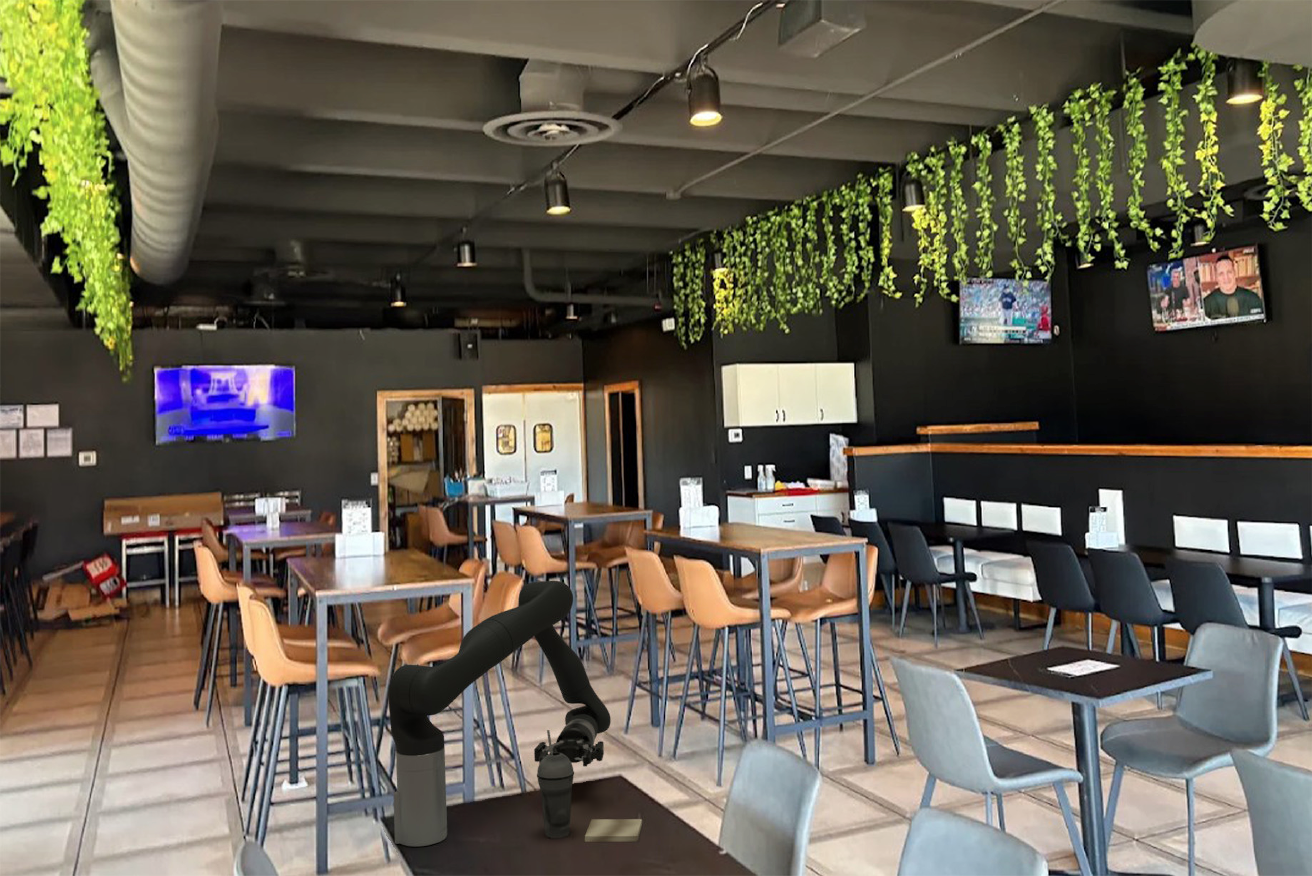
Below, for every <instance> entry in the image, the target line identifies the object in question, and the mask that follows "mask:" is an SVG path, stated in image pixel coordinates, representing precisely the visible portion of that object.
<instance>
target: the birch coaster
mask: <svg viewBox="0 0 1312 876" xmlns="http://www.w3.org/2000/svg"><path fill="white" fill-rule="evenodd" d="M642 826H643V819H642V818H634V819H633V818H632V819H631V818H628V819H626V818H619V819H617V818H616V819H615V818H614V819H610V818H608V819H607V818H605V819H603V818H602V819H601V818H600V819H597V818H596V819H594V818H591V820H590V823H589V825H588V827H587V830H586V833H585V835H584V842H585V843H587V842H590V843H591V842H592V843H593V842H596V843H597V842H598V843H599V842H602V843H603V842H604V843H605V842H608V843H609V842H610V843H611V842H613V843H614V842H615V843H616V842H617V843H618V842H620V843H621V842H638V841H639V838H640V833H641V831H642Z"/></svg>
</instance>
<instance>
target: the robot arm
mask: <svg viewBox="0 0 1312 876" xmlns="http://www.w3.org/2000/svg"><path fill="white" fill-rule="evenodd" d="M573 604H574V594H573V591H572V589H571V587H569V586H568V584H566V583H565V582H562V581H559V580H542V581H534V582H530V583H527V584H525V585H523V586H522V588H521V590H520V592H519V595H518V606H516V607H513V608H510V609H507V610H503V611H500V612H498V613H496V614H494V615H492V616H490V617H487V618H486V619H484V620H483V621H481V622H479V623H478V624H477V625H475V626H474V627H472V628H471V629H469V631H467V633H466V634H465V635H464V636H463V638H462V640H461V643H460V646H459V650H458V652H457V653H456V654H455V655H453V657H451V658H449V659H448V660H446V661H444V662H443V663H441V664H439V665H436V666H434V665H433V666H428V665H427V666H426V665H418V664H404V665H401V666H400V667H399V668H397V669H396V670H395V671H394V672H393V675H392V676H391V679H390V682H389V684H388V685H389V686H388V709H389V721H390V733H391V737H392V739H393V742H394V745H395V758H396V759H395V760H396V761H395V762H396V763H395V765H396V766H395V767H396V791H395V792H394V793H393V821H394V822H393V824H394V826H393V827H394V843H395V844H396V845H397V844H401V845H403V846H407V847H425V846H430V845H434V844H437V843H440V842H442V841H444V840H445V839H446V838H447V837H448V821H447V819H448V818H447V785H446V753H445V752H446V751H445V750H446V748H445V735H444V733H443V731H442V730H441V729H440V728H438V727H437V726H436V725H435V724H433V723H432V721H431V720H430V719H429V716H434V715H437V714H439V713H441V712H443V711H444V710H445V709H446V708H447V707H449V706H450V705H451V704H452V703H453V702H454V701H455V700H456V699H457V698H458V697H459V696H460V695H462V693H463V692H464V691H465V690H466V689H467V688H468V687H470V685H472V684H473V683H474V682H476V681H477V680H479V679H480V678H481V677H482V676H484V674H486V673H487V672H489V671H490V670H492V669H493V668H494V667H496V666H497V665H499V664H500V663H502V662H503V661H504V660H506V659H507V658H508V657H509V656H511V654H512V655H513V653H514V652H515V651H517V650H518V649H519V648H521V647H522V646H524V645H525V644H526V643H528V642H529V641H530V640H531V639H533V638H535V640H536V642H537V644H538V645H539V647H540V649H541V650H542V652H543V654H544V656H545V658H546V660H547V661H548V664H549V665H550V667H551V669H552V672H553V675H554V677H555V681H556V684H557V685H558V688H559V691H560V693H561V696H562V698H563V701H564V702H565V703H567V704H571V705H574V704H578V705H579V704H580V705H581V706H579V707H576V708H573V709H571V710H569V711H568V712H567V713H566V714H565V718H564V722H565V726H564V727H563V728H562V730H561V732H560V733H559V735H558V737H557V739H556V741H555V742H554V743H551V744H552V751H553V752H558V753H562V754H564V755H565V756H567V757H568V758H569V760H570V761H571V763H573V764H574V763H575V764H577V763H581V762H582V766H583V767H588V765H591V764H592V762H594V760H596V762H601V761H603V758H604V755H605V752H604V751H605V749H604V741H602V740H600V741H597V743H595V740H596V737H597V735H598V734H602V733H604V732H606V731H608V729H609V728H610V726H611V721H612V720H611V714H610V712H609V710H608V707H607V706H606V704H605V703H604V702H603V701H602V700H601V698H600V697H599V695H597V693H596V691H595V690H594V688H593V687H592V685H591V682H590V680H589V677H588V674H587V671H586V668H585V666H584V664H583V662H582V660H581V658H580V657H579V656H578V654H576V652H575V651H574V649H573V648H571V646H570V645H568V644H567V642H566V641H565V640H564V639H563V638H562V637H561V635H560V634H559V633H558V631H557V629H556V628H555V627H554V625H555V624H557V623H559V622H561V621H563V620H564V619H566V617H568V615H569V613H570V612H571V610H572V608H573ZM582 705H583V706H582ZM549 753H550V748H549V745H547V742H546V741H542V742H539V744H538V745H537V746H535V748H534V750H533V754H534V755H533V756H534V762H535V763H538V765H539V764H540V762H541V760H542V759H543V758H544V757H545V756H546V755H548V754H549Z"/></svg>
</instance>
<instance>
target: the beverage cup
mask: <svg viewBox="0 0 1312 876" xmlns="http://www.w3.org/2000/svg"><path fill="white" fill-rule="evenodd" d="M546 733H547V740H548V746H549V748H550V752H549V753H548V755H546V756H545V757H544V758H543V759H542V760H541V762H540V764H539V763H538V767H537V770H536V771H537V773H536V778H537V783H538V786H539V791H540V792H539V793H540V801H541V809H542V816H543V817H542V819H543V827H544V829H545V836H546V835H547V836H548V837H547V836H546V837H547V838H549V837H550V839H561V838H566V837H568V836H569V834H570V826H571V812H572V810H571V808H572V789H573V788H572V787H573V782H574V774H575V771H574V766H573V764H572V763H571V761H570V760H569V758H568V757H567V756H565V755H564V754H562V753H558V752H553V751H552V744H553V743H552V740H551V739H552V738H551V732H550V729H547V730H546ZM565 836H566V837H565Z"/></svg>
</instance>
